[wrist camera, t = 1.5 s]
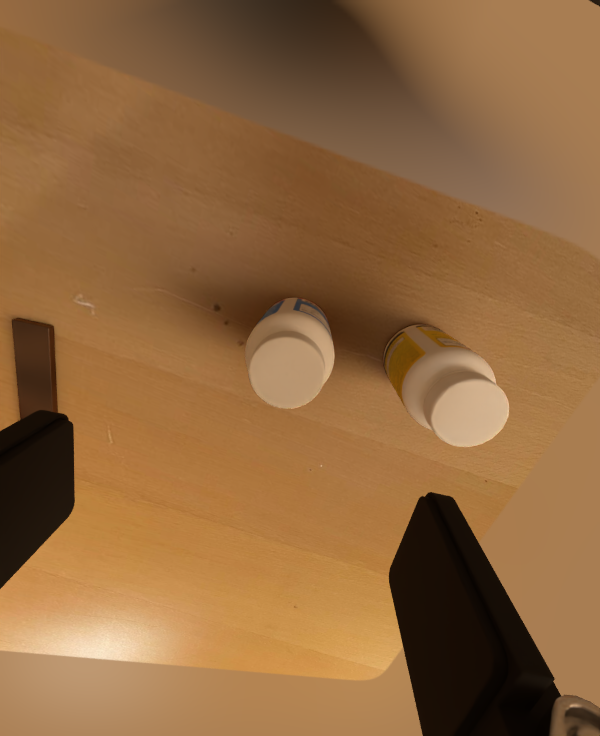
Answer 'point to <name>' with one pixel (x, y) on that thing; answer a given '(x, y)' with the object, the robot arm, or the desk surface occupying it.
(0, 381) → the desk surface
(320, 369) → the pill bottle
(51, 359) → the ruler
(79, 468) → the desk surface
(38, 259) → the desk surface
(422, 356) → the supplement bottle
